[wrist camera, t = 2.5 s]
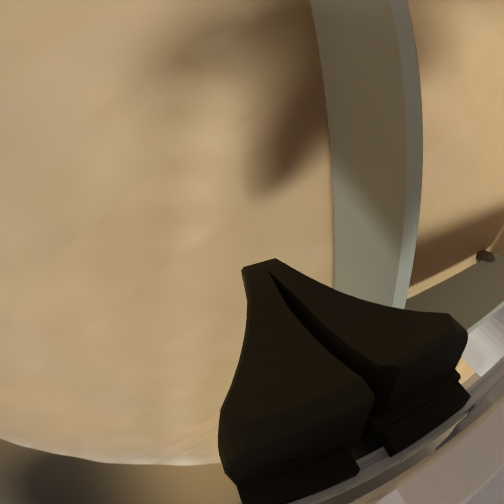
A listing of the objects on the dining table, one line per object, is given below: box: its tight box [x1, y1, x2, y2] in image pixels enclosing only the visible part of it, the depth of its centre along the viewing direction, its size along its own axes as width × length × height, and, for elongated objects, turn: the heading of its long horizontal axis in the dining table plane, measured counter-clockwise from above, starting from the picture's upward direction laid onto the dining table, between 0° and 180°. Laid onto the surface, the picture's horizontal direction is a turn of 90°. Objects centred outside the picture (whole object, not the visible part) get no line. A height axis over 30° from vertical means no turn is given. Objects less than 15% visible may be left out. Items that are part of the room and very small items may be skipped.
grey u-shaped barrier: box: [310, 0, 504, 334], centre depth 12 cm, size 27×20×6 cm
